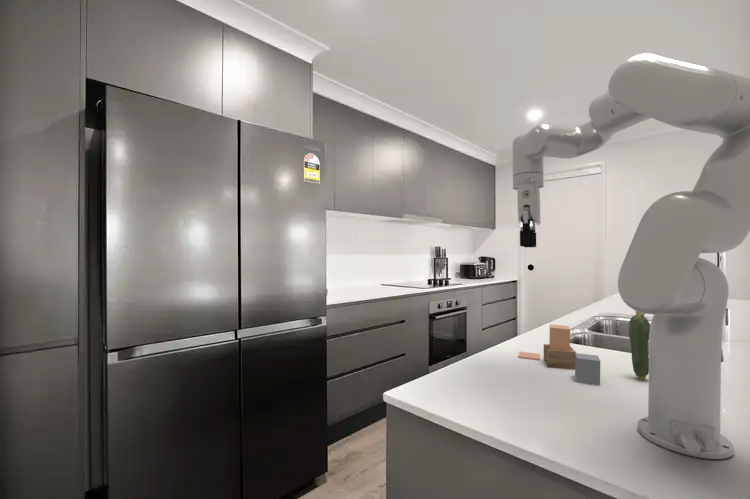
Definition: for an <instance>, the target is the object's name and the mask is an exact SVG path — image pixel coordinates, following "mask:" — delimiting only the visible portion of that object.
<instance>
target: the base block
mask: <svg viewBox="0 0 750 499" xmlns="http://www.w3.org/2000/svg"><path fill="white" fill-rule="evenodd" d="M575 353H577V352H576V350H575V349H573V347H571V346H570V351H564V350H555V349H550V346H549V344H548V343H543V362H544V363H545V365H546V367H547V368H548V369H549V368H550V369H560V370H561V369H563V370H571V371H572V370H573V371H575Z"/></svg>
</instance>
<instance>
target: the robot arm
mask: <svg viewBox="0 0 750 499" xmlns="http://www.w3.org/2000/svg"><path fill="white" fill-rule="evenodd" d="M607 88H608V90H607V91H605V92H603V93H600V94H599V95H597V96H596V97H594V99H593V100H592V101H591V102H590V104H589V107H588V118H589V120H588V121H587V122H584V123H583V124H581V125H578V126H576V127H570V126H564V125H559V124H552V123H551V124H550V123H540V124H537V125H535V126H534V127H532V128H531V129H529V130H528V131H527V132H526V133H524V134H520V135H518V136H516V137H514V139H513V141H512V189H513V190H515V191H517V216H518V217H517V218H518V219H517V220H518V223H519V224H520V230H519V245H520V246H519V247H524V248H537V232H536V225H537V226H539V225H541V194H540V193H541V192H540V189H542V188H544V187H545V186H544V185H545V184H544V157H548V158H549V157H550V158H556V159H567V160H568V159H574V158H577V157H578V158H579V157H580V156H583V155H586V154H588V153H592V152H593V151H597V150H598V149H600V148H601V147H602V146H603V147H604V145H605V144H606V143H607V142H608V141H609V140H611V138H612V137H613V135H614V134H616V133H618V132H621V131H623V130H625V129H628V128H630V127H633V126H635V125H637V124H640V123H643V122H644V121H647V120H650V119H654V120H657V121H658V122H661V123H664V124H665V125H669V126H672V127H675V128H678V129H682V130H687V131H693V132H698V133H703V134H710V135H714V136H715V135H716V136H718V137H720V138H721V139H722V142H721V144H720V145H719V146H718V147H717V148H716V149H715V151H713V153H712V154H711V155H710V156H709V157H708V159H707V160H706V161H705V164H704V165H703V167H702V170H701V173H700V175H699V177H698V179H697V181H696V183H695V184H694V187H693V188H692V190H689V191H688V190H687V191H685V190H684V191H683V190H682V191H675V192H671V193H669V194H665V195H664V196H662V197H660V198H658V199H657V200H656V201H654V202H653V203H652V204H651V205H650V206H649V207H648V209H647V210H646V211H645V212H644V213H643V215H642V216H641V219H640V221H639V223H638V225H637V227H636V230H635V233H634V234H633V237H632V240H631V243H630V245H629V246H628V250H627V252H626V254H625V257H624V260H623V262H622V264H621V267H620V269H619V273H618V278H617V289H618V294H619V296H620V298H621V300H622V301H623V303H625V305H627V307H629V308H631V309H632V310H633V311H638V312H641V313H645V315H646V314H647V315H653V316H652V318H651V321H650V332H649V340H648V356H649V373H648V398H647V399H648V404H647V407H648V409H647V410H648V412H647V413H648V414H647V415H648V416H645V417H642V418H640V419H639V420H638V421H637V430H638V432H639V434H641V436H643V437H645V438H646V439H647V440H649V441H650V442H652V443H654V444H655V445H657V446H660V447H662V448H665V449H667V450H669V451H673V452H675V453H678V454H682V455H685V456H689V457H690V456H691V457H693V458H694V457H695V458H699V459H700V458H701V459H708V460H721V459H723V460H724V459H728V458H731V457H732V456H733V455H734V444H733V443H732V442H731V440H729V439H728V438H727V437H725V436H724V435H723V434H721V400H722V399H721V397H722V396H721V394H722V392H721V391H722V390H721V387H722V386H721V383H722V363H721V362H722V343H723V342H722V340H723V339H722V338H723V325H724V318H725V313H726V309H727V305H728V304H727V303H728V299H729V282H728V280H727V277H726V275H725V273H724V272H723V271H722V269H721V268H720V267H718V266H717V264H715V263H713V262H711V261H710V260H707V259H704V258H701V257H700V256H701V254H715V253H716V254H717V253H724V252H728V251H729V252H730V251H731V250H733V249H735V248H737V247H739V246H740V245H741V244H742V243H743V242H744V241H745V240H746V239H747V237H748V236H749V233H750V77H745V76H741V75H739V74H734V73H732V72H728V71H724V70H721V69H717V68H712V67H708V66H703V65H699V64H696V63H691V62H685V61H681V60H677V59H674V58H672V57H671V58H670V57H667V56H663V55H661V54H657V53H653V52H651V53H650V52H643V53H639V54H636V55H633V56H631V57H629V58H627V59H626V60H625V61H623V62H622V63H621V64H620V65H619V66H617V67H616V69H615V70H614V71H613V73H612V75H611V77H610V78H609V81H608V86H607Z"/></svg>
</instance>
